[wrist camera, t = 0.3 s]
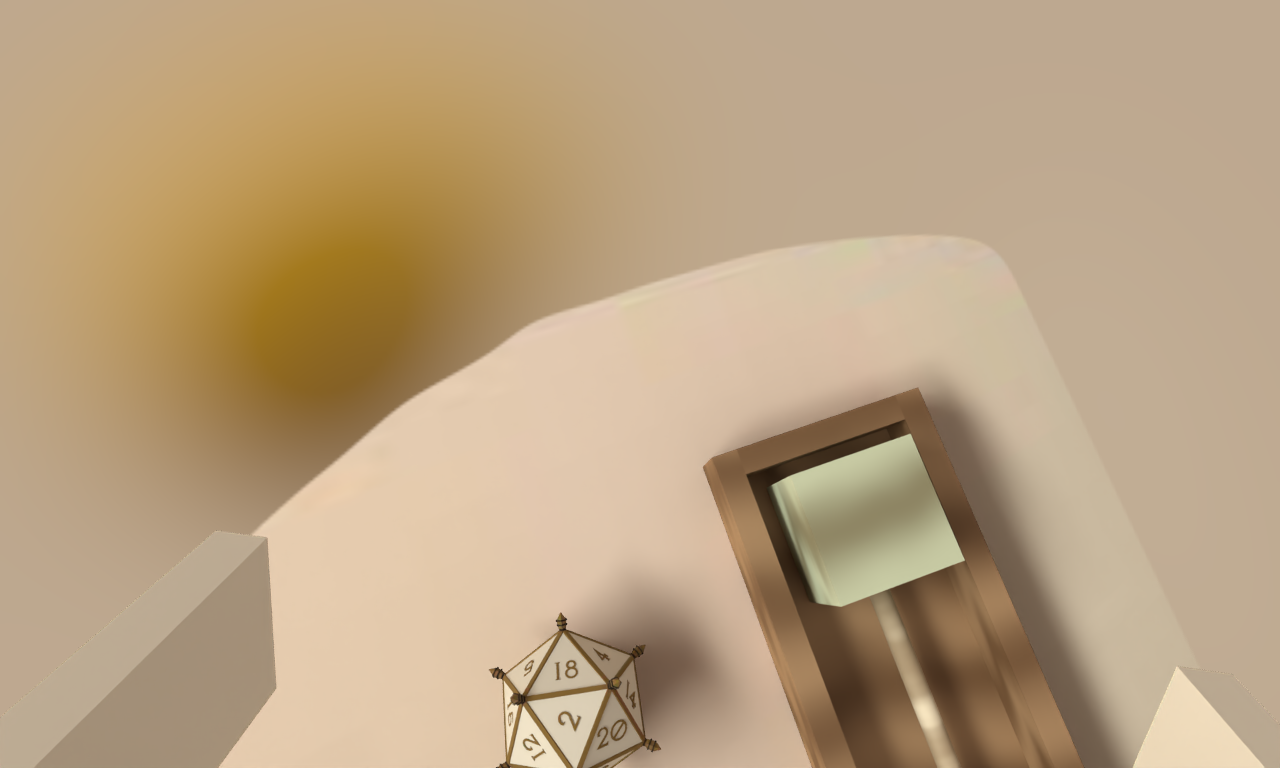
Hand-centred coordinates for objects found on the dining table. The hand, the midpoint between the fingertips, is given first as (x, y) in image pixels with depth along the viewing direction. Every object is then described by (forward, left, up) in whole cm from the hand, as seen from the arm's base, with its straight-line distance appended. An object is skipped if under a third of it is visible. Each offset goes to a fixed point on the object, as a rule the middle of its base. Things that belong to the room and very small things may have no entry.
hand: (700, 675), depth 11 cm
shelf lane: (-10, -13, -35) cm, 39 cm away
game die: (-4, +5, -35) cm, 36 cm away
